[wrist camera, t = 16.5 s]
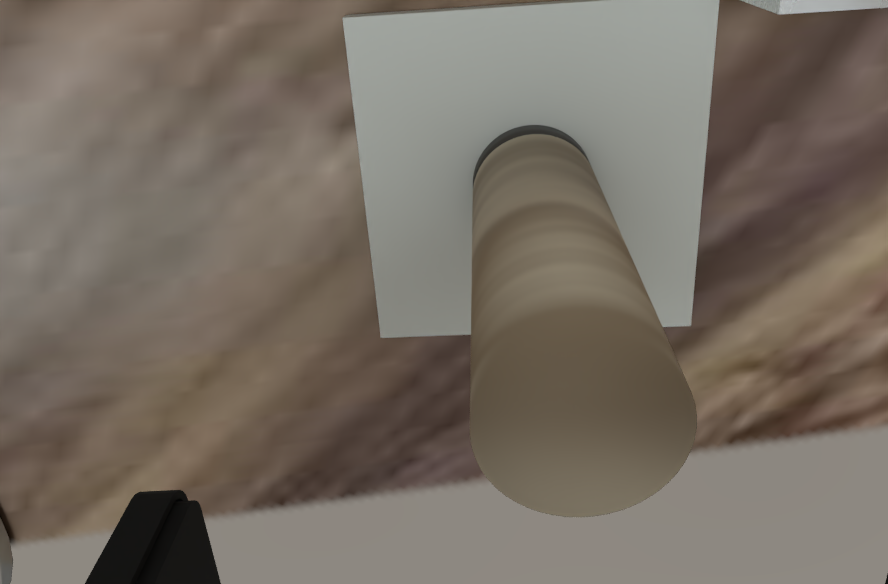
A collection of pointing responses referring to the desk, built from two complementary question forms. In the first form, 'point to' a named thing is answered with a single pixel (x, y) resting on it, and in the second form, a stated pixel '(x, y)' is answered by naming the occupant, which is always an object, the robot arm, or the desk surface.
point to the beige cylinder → (565, 339)
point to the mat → (519, 104)
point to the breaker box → (815, 5)
